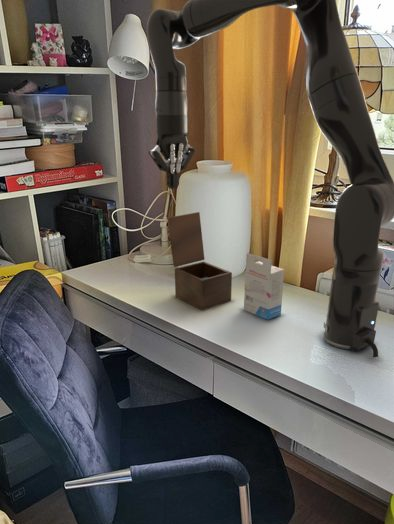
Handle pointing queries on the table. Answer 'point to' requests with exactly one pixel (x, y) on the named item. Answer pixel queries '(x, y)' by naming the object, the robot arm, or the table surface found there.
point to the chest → (203, 285)
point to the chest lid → (186, 239)
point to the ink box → (263, 287)
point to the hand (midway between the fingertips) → (173, 188)
